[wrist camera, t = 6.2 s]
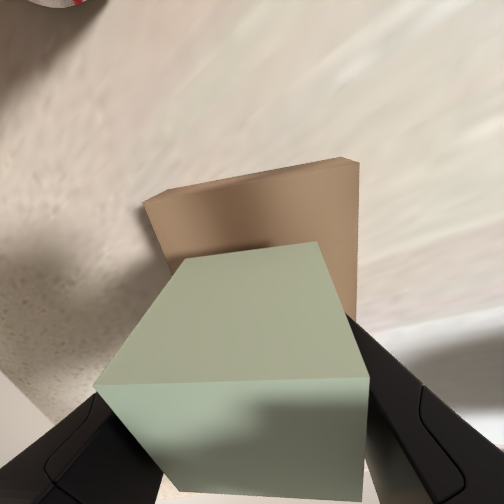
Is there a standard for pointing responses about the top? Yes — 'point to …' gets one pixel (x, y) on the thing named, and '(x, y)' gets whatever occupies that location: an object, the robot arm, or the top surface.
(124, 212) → the top surface
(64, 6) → the soda can
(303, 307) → the sage cube
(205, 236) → the walnut slab
